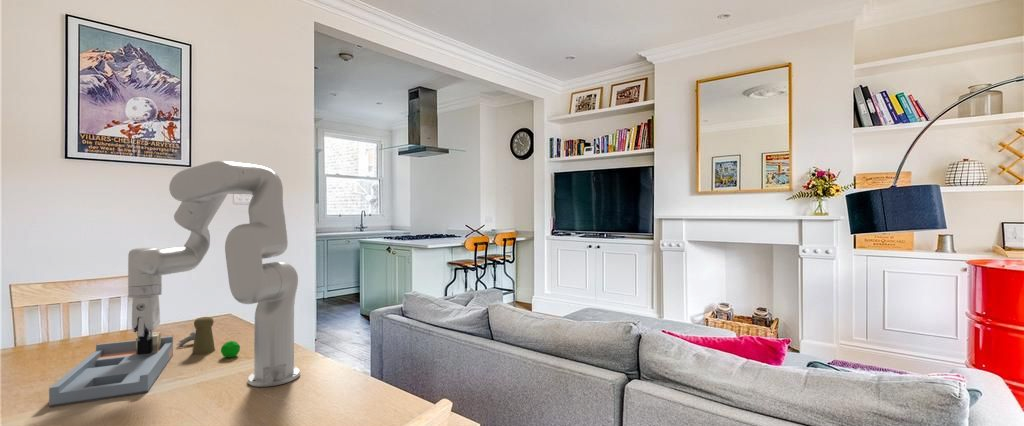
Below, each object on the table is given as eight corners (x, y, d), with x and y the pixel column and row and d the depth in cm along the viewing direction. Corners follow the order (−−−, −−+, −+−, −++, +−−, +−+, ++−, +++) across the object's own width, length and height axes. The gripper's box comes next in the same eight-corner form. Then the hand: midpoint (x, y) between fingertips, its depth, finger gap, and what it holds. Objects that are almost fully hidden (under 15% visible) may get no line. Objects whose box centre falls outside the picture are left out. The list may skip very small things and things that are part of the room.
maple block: (157, 352, 133) (157, 335, 133) (135, 355, 131) (135, 338, 130) (160, 347, 137) (160, 331, 137) (140, 350, 135) (140, 333, 135)
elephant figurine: (172, 344, 151) (199, 329, 158) (183, 357, 150) (210, 341, 158) (175, 331, 145) (203, 315, 153) (187, 344, 145) (214, 328, 152)
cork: (219, 348, 146) (219, 315, 146) (205, 354, 140) (205, 320, 140) (202, 348, 147) (202, 315, 147) (187, 354, 141) (187, 319, 141)
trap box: (147, 392, 111) (147, 368, 111) (49, 407, 103) (49, 381, 103) (173, 355, 140) (173, 336, 140) (97, 364, 131) (97, 344, 131)
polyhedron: (216, 359, 136) (216, 343, 136) (229, 353, 141) (229, 339, 141) (231, 360, 136) (231, 344, 136) (243, 355, 140) (243, 339, 140)
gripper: (155, 293, 125) (155, 359, 125) (166, 285, 138) (166, 344, 138) (120, 296, 121) (120, 363, 121) (135, 287, 134) (135, 348, 134)
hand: (145, 353), depth 130 cm, fingers closed
